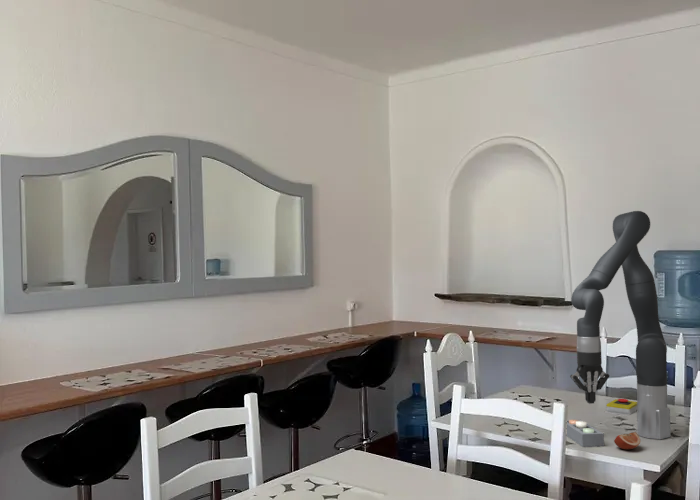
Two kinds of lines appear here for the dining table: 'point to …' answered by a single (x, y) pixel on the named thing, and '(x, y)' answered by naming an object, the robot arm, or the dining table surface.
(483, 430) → the dining table surface
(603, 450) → the dining table surface
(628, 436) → the fruit slice
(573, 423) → the terracotta button
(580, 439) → the console
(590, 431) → the sage button
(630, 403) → the emergency button
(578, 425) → the cream button
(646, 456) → the dining table surface
